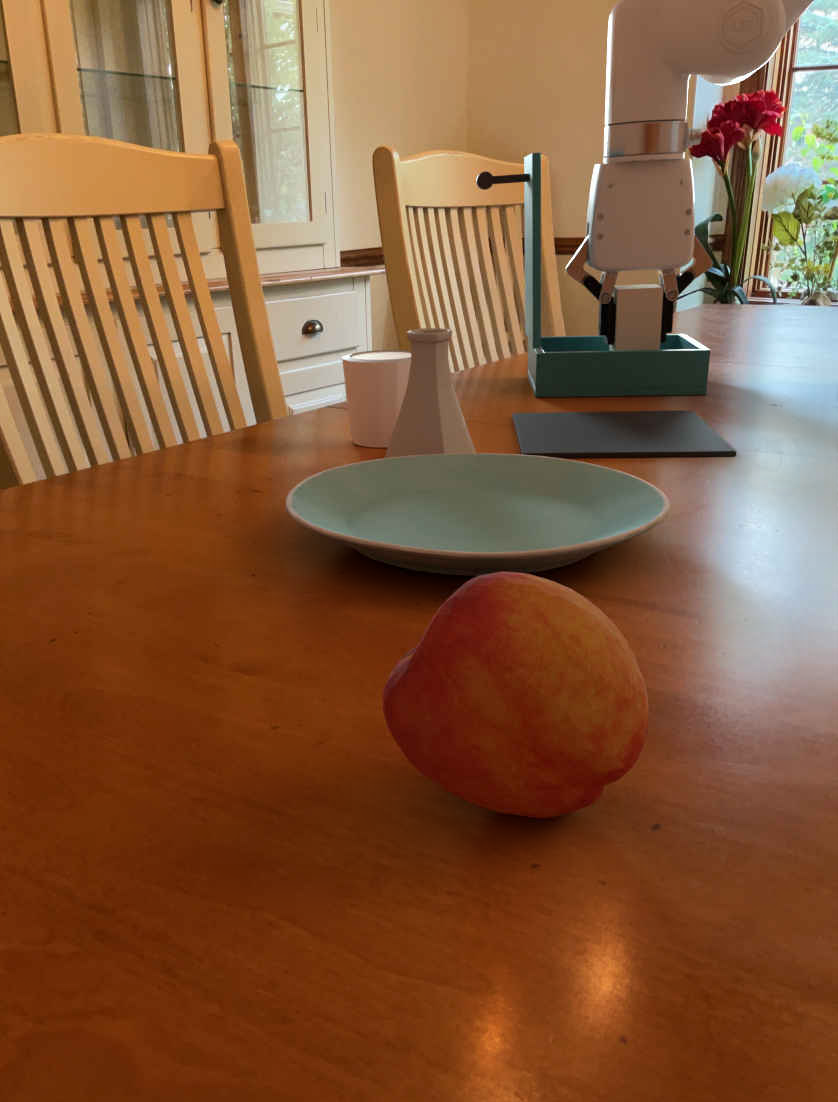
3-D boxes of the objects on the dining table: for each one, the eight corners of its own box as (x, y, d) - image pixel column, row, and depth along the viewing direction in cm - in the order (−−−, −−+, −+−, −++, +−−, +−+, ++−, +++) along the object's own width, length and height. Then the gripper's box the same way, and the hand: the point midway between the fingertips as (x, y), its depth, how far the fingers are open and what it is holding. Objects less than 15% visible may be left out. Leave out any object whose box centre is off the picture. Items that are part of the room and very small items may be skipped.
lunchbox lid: (532, 156, 106) (475, 160, 107) (541, 152, 95) (477, 157, 96) (532, 332, 113) (478, 335, 114) (540, 348, 102) (481, 351, 102)
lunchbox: (681, 374, 114) (684, 333, 112) (706, 394, 102) (710, 349, 100) (527, 376, 115) (528, 336, 113) (535, 397, 103) (536, 353, 102)
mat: (692, 414, 93) (692, 410, 93) (736, 456, 79) (736, 450, 79) (512, 417, 95) (512, 412, 95) (522, 458, 80) (522, 453, 80)
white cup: (380, 453, 83) (378, 363, 80) (328, 440, 88) (324, 355, 85) (443, 439, 87) (443, 353, 84) (389, 428, 92) (388, 346, 89)
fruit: (484, 719, 41) (488, 522, 38) (678, 787, 36) (701, 566, 33) (349, 804, 35) (340, 582, 32) (556, 898, 30) (569, 646, 27)
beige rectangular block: (651, 363, 109) (655, 283, 106) (658, 370, 105) (663, 287, 102) (608, 365, 110) (611, 285, 107) (614, 371, 106) (617, 289, 103)
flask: (494, 462, 79) (497, 326, 75) (452, 485, 73) (453, 339, 70) (410, 453, 83) (408, 323, 79) (364, 474, 77) (360, 335, 73)
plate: (542, 475, 75) (543, 436, 74) (751, 565, 56) (757, 514, 55) (244, 514, 68) (241, 471, 67) (368, 633, 49) (367, 576, 48)
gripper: (725, 142, 102) (710, 334, 109) (551, 152, 104) (547, 340, 111) (744, 138, 95) (727, 343, 102) (558, 149, 97) (553, 350, 104)
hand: (634, 340), depth 107 cm, fingers closed on beige rectangular block, 4 cm apart
